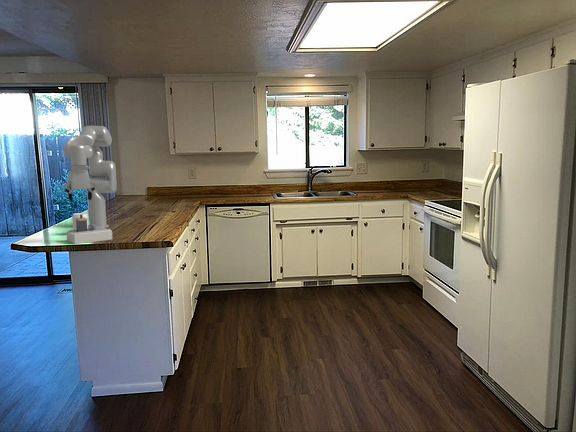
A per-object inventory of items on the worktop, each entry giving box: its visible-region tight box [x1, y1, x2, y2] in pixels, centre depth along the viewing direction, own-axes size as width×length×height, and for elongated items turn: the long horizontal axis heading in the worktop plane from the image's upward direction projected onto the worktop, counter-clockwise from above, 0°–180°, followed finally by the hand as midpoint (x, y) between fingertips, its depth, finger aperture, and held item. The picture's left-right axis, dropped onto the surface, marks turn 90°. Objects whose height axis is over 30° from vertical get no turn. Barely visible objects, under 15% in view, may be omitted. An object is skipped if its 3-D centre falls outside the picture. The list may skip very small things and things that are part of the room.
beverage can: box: [71, 212, 89, 230], centre depth 266 cm, size 8×8×12 cm
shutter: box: [89, 223, 105, 231], centre depth 252 cm, size 7×7×3 cm
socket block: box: [66, 227, 113, 245], centre depth 249 cm, size 12×20×6 cm, turn 134°
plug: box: [76, 214, 87, 232], centre depth 246 cm, size 5×4×12 cm
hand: (80, 200), depth 244 cm, fingers open, 9 cm apart
